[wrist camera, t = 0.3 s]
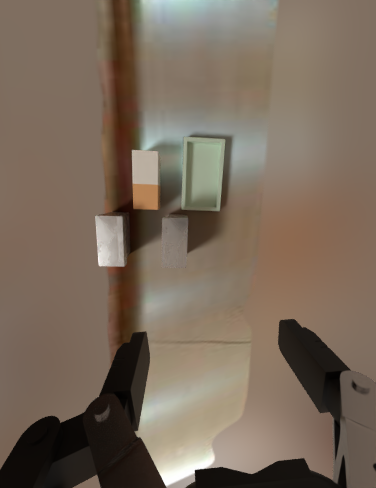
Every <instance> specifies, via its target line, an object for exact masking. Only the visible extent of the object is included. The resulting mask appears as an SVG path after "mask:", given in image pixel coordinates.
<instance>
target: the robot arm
mask: <svg viewBox="0 0 376 488" xmlns="http://www.w3.org/2000/svg"><path fill="white" fill-rule="evenodd" d="M278 344H279V349H280V351H281V353H282V355H283V356H284V358H285V359H286V361H287V363H288V364H289V366H290V367H291V369H292V370H293V372H294V373H295V375H296V376H297V378H298V380H299V381H300V383H301V384H302V386H303V387H304V389H305V390H306V392H307V394H308V395H309V397H310V398H311V400H312V401H313V402H314V404H315V406H316V407H317V409H318V411H319V412H320V413H325V412H330V413H331V415H332V416H333V464H334V465H333V481H332V480H331V479H329V478H327V477H325V476H324V475H321V474H319V473H316V472H314V471H311V470H310V469H309V468H308V465H307V463H306V461H305V459H304V458H302V459H292V460H284V461H277V462H275V463H273V464H272V465H269V466H268V467H266V468H264V469H262V470H261V471H258V472H257V473H254V474H248V473H244V472H240V471H236V470H232V469H228V468H223V467H219V468H209V469H199V470H195V482H193V483H191V484H190V485H188V486H187V487H186V488H376V383H375V382H374V381H373V380H372V379H370V378H369V377H367V376H365V375H363V374H361V373H359V372H355V371H351V370H350V369H349V368H348V367H347V366H346V365H345V364H344V363H343V362H342V361H341V360H340V359H339V358H338V356H336V355H335V354H334V352H333V351H332V350H331V349H330V348H328V347H327V345H326V344H325V343H324V342H322V341H321V339H320V338H319V337H318V336H317V335H316V334H315V333H314V332H312V331H310V330H309V329H307V328H305V327H303V328H302V327H301V326H300V325H299V324H298V323H297V321H296V320H294V319H288V320H281V321H280V322H279V336H278ZM149 363H150V353H149V345H148V338H147V333H146V332H135V333H133V334H132V337H131V340H130V343H123V344H122V346H121V347H120V348H119V349H118V350H117V352H116V355H115V357H114V360H113V362H112V365H111V368H110V370H109V373H108V375H107V378H106V380H105V383H104V385H103V388H102V390H101V393H100V395H99V397H97V398H96V399H95V400H93V401H92V402H91V403H90V405H89V406H88V407H87V409H86V411H85V412H84V413H82V414H80V415H78V416H76V417H73V418H71V419H69V420H66V421H64V422H61V423H60V421H59V419H58V418H57V417H55V416H48V417H45V418H42V419H40V420H38V421H36V422H35V423H34V424H32V425H31V426H30V427H29V428H28V429H27V430H26V431H25V432H24V433H23V434H22V435H21V437H20V438H19V440H18V441H17V443H16V445H15V446H14V448H13V450H12V451H11V453H10V455H9V456H8V458H7V459H6V461H5V463H4V464H3V466H2V468H1V469H0V488H73V487H74V486H76V485H78V484H80V483H82V482H84V481H86V480H88V479H89V478H91V477H93V476H95V475H97V476H98V479H99V483H100V487H101V488H166V486H165V484H164V482H163V480H162V478H161V476H160V474H159V472H158V470H157V468H156V466H155V464H154V462H153V460H152V458H151V456H150V454H149V452H148V450H147V448H146V446H145V444H144V442H143V441H142V439H141V438H140V437H139V438H138V437H137V436H136V434H135V432H134V431H138V427H139V421H140V416H141V410H142V404H143V398H144V393H145V387H146V381H147V375H148V370H149Z"/></svg>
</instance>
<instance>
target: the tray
mask: <svg viewBox="0 0 376 488" xmlns="http://www.w3.org/2000/svg"><path fill="white" fill-rule="evenodd" d="M224 150H225V139H213V138H196V137H184V143H183V174H182V206H181V210H203V211H220V201H221V189H222V176H223V163H224Z"/></svg>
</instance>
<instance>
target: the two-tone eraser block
mask: <svg viewBox="0 0 376 488" xmlns="http://www.w3.org/2000/svg"><path fill="white" fill-rule="evenodd" d="M132 170H133V209H150V210H158V209H160V171H161V157H160V155H159V152H158V151H142V150H132Z"/></svg>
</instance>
